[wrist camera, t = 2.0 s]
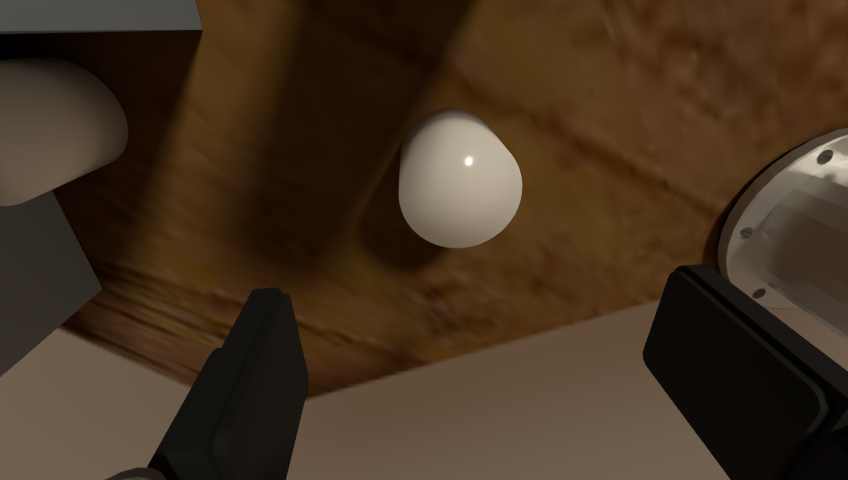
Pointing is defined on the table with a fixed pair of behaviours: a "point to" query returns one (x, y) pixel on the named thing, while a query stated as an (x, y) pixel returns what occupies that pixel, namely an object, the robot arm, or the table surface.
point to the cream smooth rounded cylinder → (457, 180)
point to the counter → (42, 216)
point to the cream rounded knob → (54, 126)
